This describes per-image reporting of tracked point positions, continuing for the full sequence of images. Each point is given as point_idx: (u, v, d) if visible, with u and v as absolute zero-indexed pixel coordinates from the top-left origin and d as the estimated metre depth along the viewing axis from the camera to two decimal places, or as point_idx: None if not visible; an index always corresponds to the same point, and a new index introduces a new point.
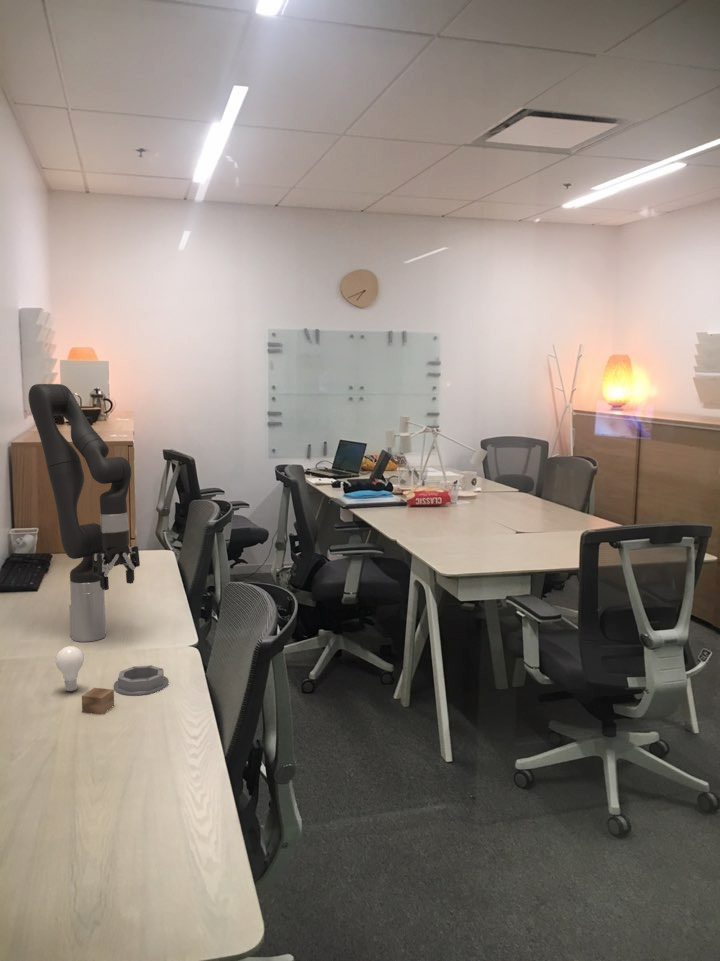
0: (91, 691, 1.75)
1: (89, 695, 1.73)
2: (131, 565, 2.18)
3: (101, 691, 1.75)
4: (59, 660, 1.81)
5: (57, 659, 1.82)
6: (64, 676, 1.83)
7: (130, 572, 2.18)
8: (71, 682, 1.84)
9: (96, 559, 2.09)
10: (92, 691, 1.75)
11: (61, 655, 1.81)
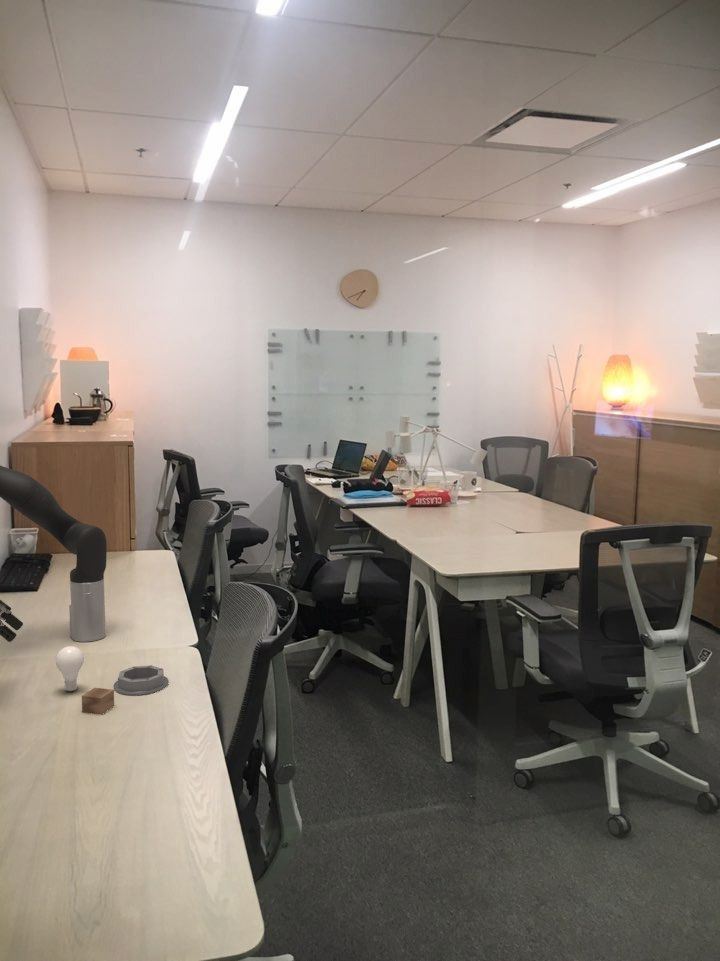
0: (91, 691, 1.75)
1: (89, 695, 1.73)
2: (6, 609, 1.83)
3: (101, 691, 1.75)
4: (59, 660, 1.81)
5: (57, 659, 1.82)
6: (64, 676, 1.83)
7: (12, 616, 1.84)
8: (71, 682, 1.84)
9: None
10: (93, 691, 1.75)
11: (61, 655, 1.81)
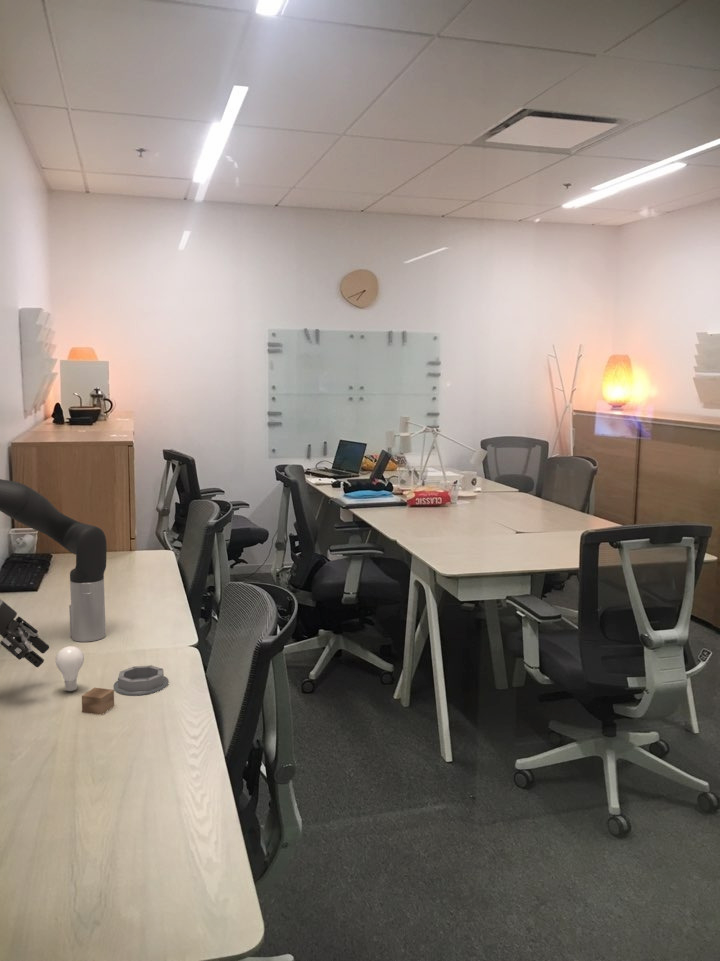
0: (91, 691, 1.75)
1: (89, 695, 1.73)
2: (33, 633, 1.85)
3: (101, 691, 1.75)
4: (59, 660, 1.81)
5: (57, 659, 1.82)
6: (64, 676, 1.83)
7: (38, 640, 1.86)
8: (71, 682, 1.84)
9: (9, 642, 1.74)
10: (93, 691, 1.75)
11: (61, 655, 1.81)
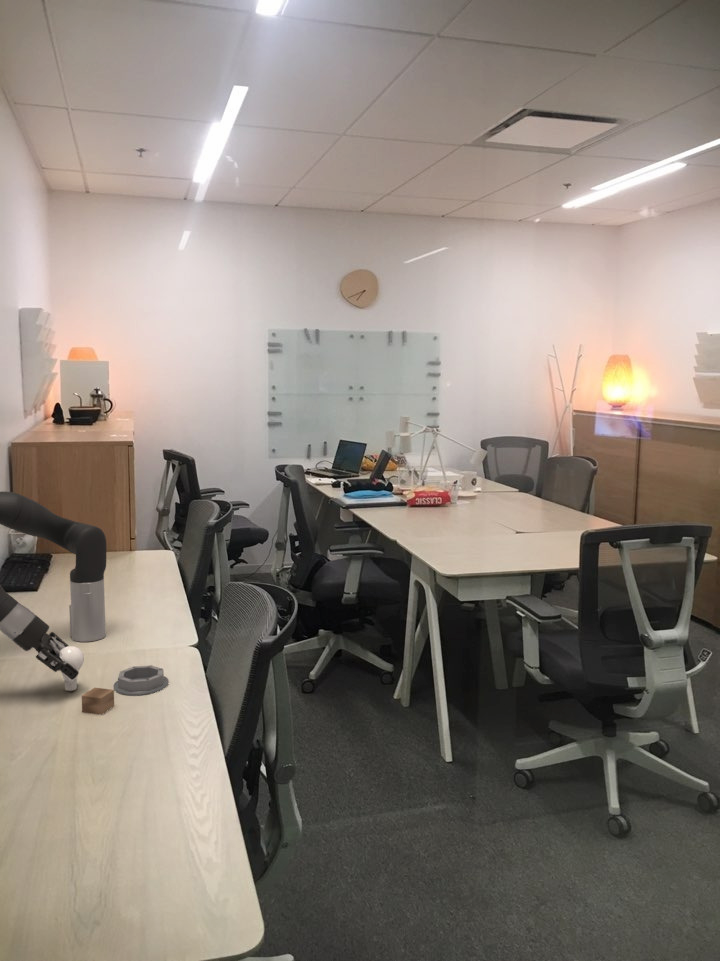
0: (91, 691, 1.75)
1: (88, 695, 1.73)
2: None
3: (101, 691, 1.75)
4: None
5: None
6: (64, 676, 1.83)
7: None
8: (71, 682, 1.84)
9: (45, 656, 1.76)
10: (93, 691, 1.75)
11: None
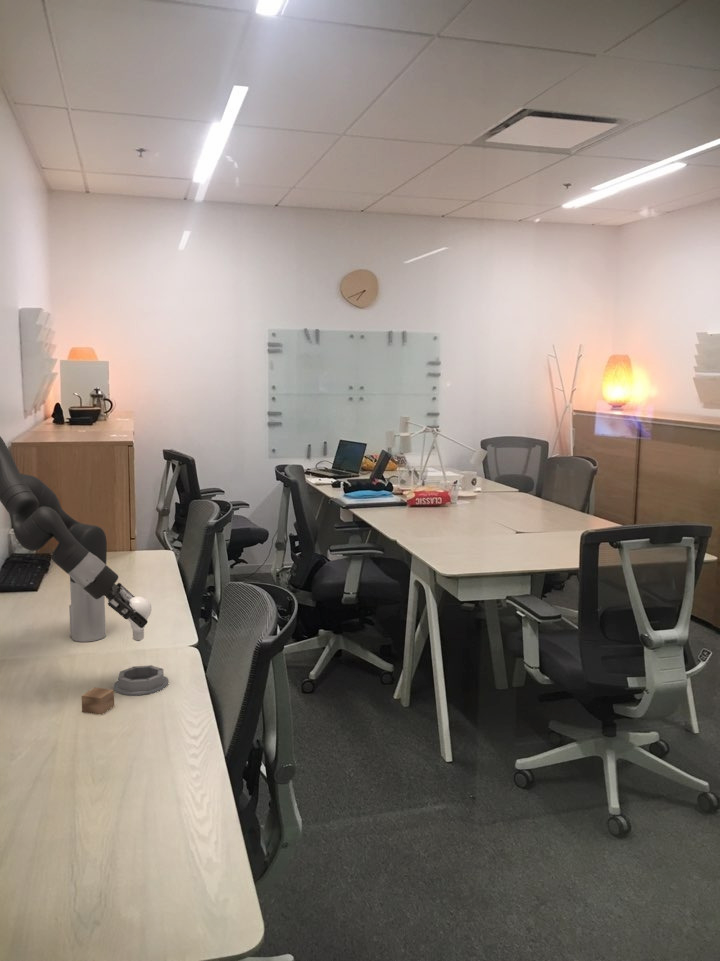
0: (91, 691, 1.75)
1: (88, 695, 1.73)
2: None
3: (102, 691, 1.75)
4: None
5: None
6: (132, 625, 1.86)
7: None
8: (139, 632, 1.86)
9: (117, 603, 1.79)
10: (93, 691, 1.75)
11: (131, 604, 1.84)
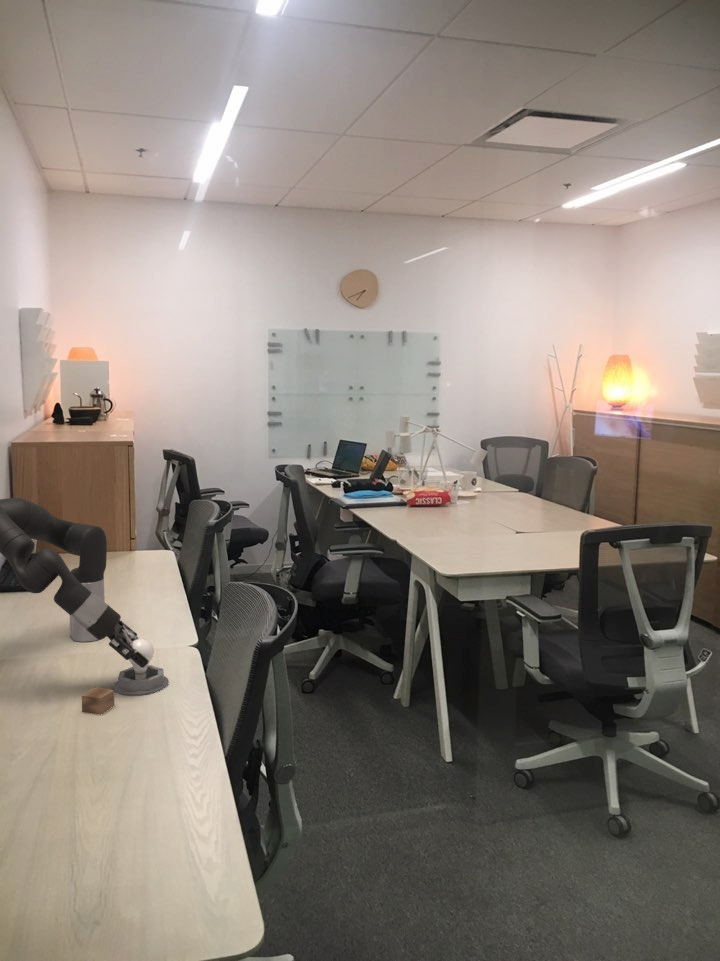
0: (91, 691, 1.75)
1: (88, 695, 1.73)
2: (134, 636, 1.91)
3: (102, 691, 1.75)
4: None
5: None
6: (135, 668, 1.87)
7: None
8: (141, 674, 1.87)
9: (117, 643, 1.80)
10: (93, 691, 1.75)
11: None
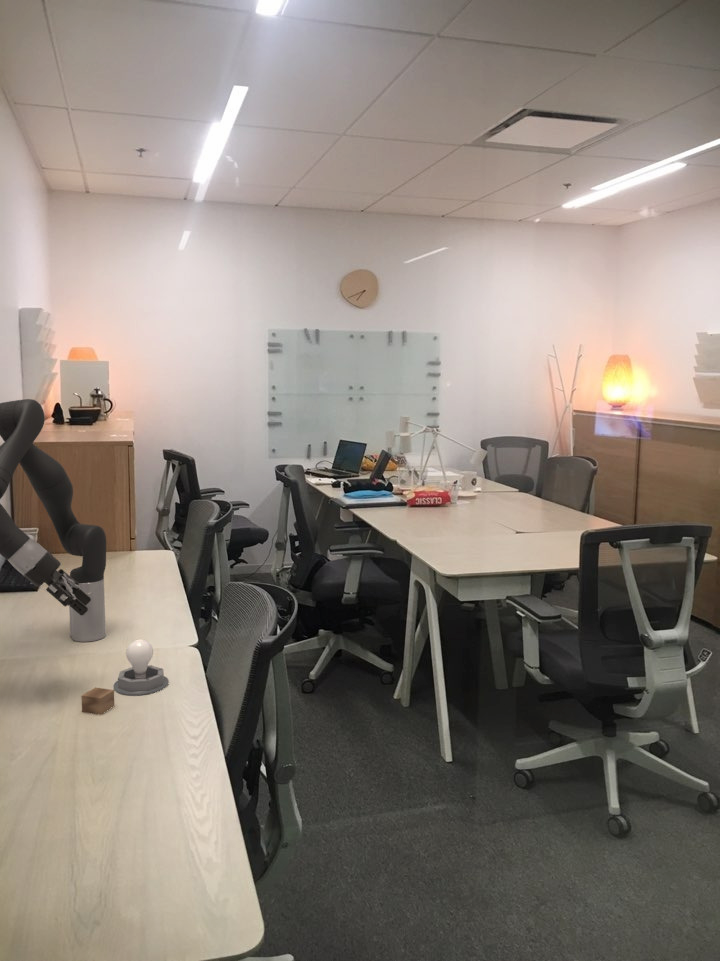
0: (91, 691, 1.75)
1: (88, 695, 1.73)
2: (75, 584, 1.87)
3: (102, 691, 1.75)
4: (130, 652, 1.85)
5: (128, 652, 1.86)
6: (134, 668, 1.87)
7: (80, 591, 1.87)
8: (141, 674, 1.87)
9: (55, 588, 1.75)
10: (93, 691, 1.75)
11: (132, 648, 1.85)
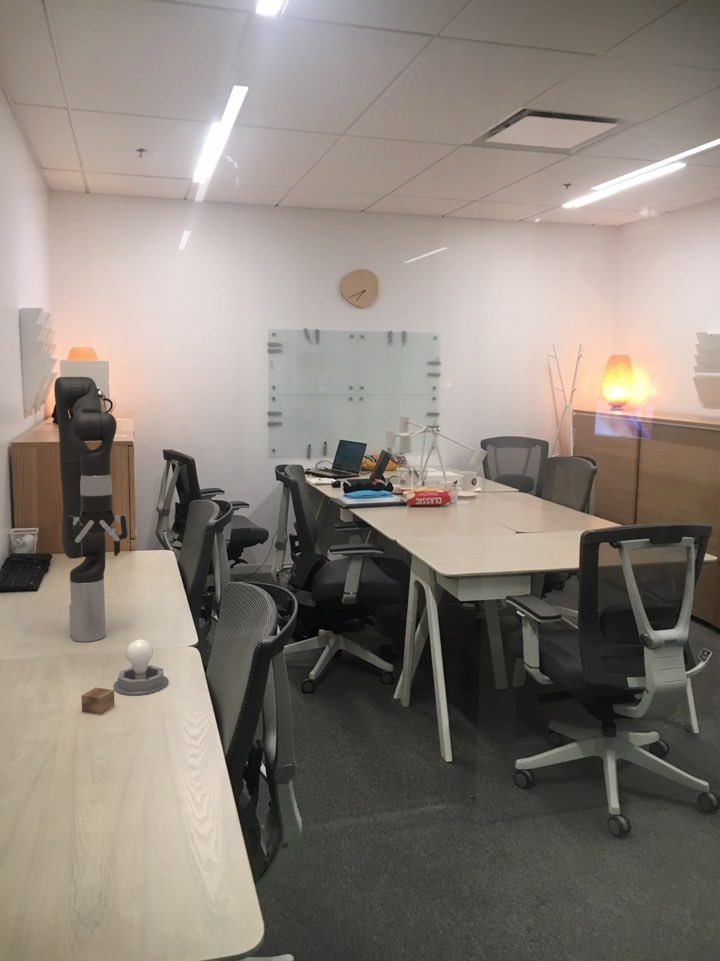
0: (92, 691, 1.75)
1: (88, 695, 1.73)
2: None
3: (102, 691, 1.75)
4: (130, 652, 1.85)
5: (128, 652, 1.86)
6: (134, 668, 1.87)
7: (81, 543, 1.94)
8: (141, 674, 1.87)
9: None
10: (93, 691, 1.75)
11: (132, 648, 1.85)
